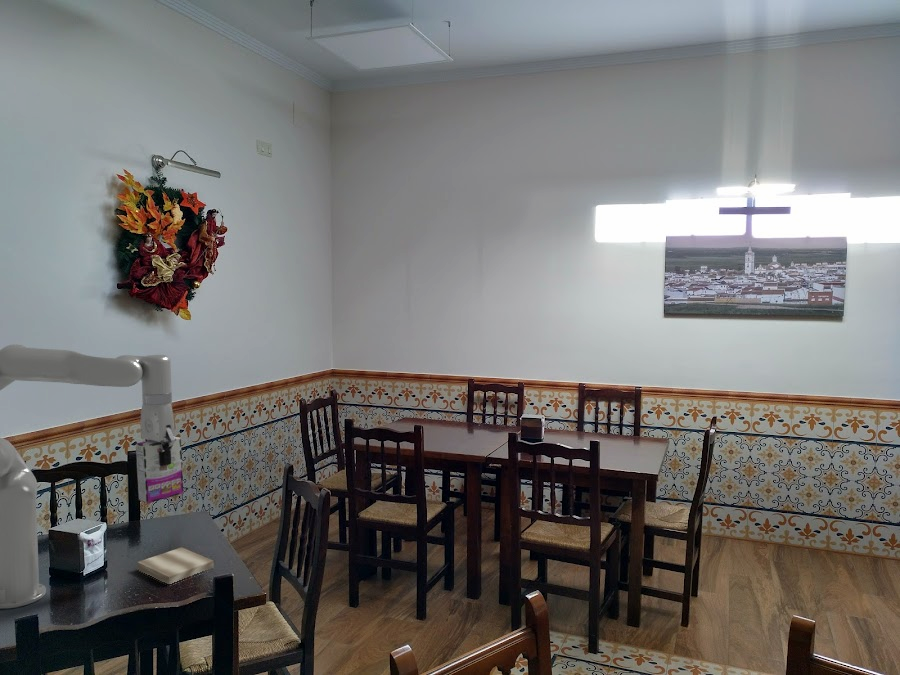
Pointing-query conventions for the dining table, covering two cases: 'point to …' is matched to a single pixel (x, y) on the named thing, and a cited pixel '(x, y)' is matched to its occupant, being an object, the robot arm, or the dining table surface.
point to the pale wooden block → (175, 565)
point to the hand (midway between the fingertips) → (159, 462)
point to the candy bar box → (158, 471)
